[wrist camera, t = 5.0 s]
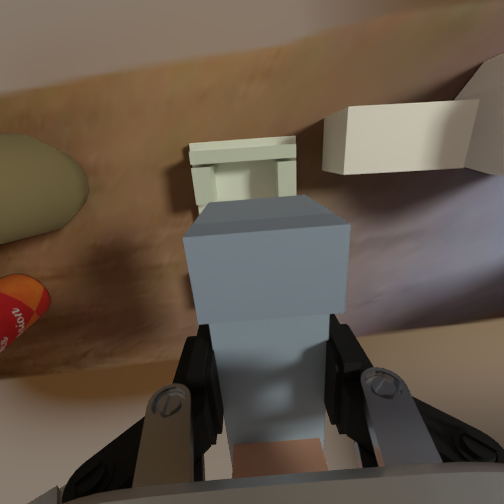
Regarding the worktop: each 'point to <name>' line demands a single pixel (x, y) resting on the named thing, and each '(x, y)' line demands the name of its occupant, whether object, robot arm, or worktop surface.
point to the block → (398, 137)
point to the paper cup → (20, 306)
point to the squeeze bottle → (37, 187)
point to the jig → (243, 169)
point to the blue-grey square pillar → (270, 322)
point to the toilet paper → (487, 117)
